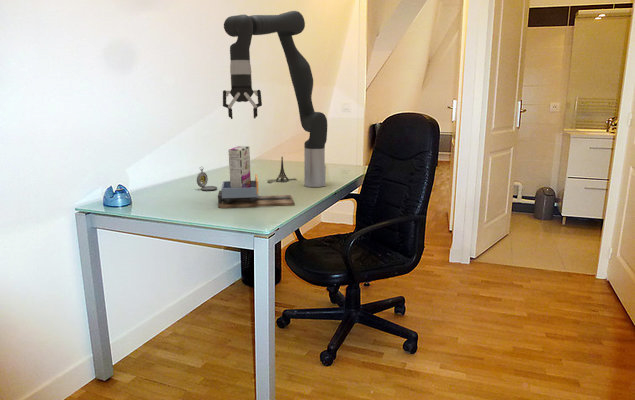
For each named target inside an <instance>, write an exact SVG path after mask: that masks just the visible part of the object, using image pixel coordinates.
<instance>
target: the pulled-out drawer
mask: <svg viewBox="0 0 635 400" xmlns="http://www.w3.org/2000/svg"><path fill="white" fill-rule="evenodd" d="M254 176H255V180H251V188H231V186H230V180H225V181H224V180H223V181H222V183H221V184H222V185H221V190H220V191H221V193H222V198H225V202H226V203H230V202H231V198H247V197H250V198H249V200H250V201H251V202H255V201H256V197H259V196H260V195H259V180H258V178H259V177H258V174H254Z"/></svg>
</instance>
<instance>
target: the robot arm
mask: <svg viewBox="0 0 635 400" xmlns="http://www.w3.org/2000/svg"><path fill="white" fill-rule="evenodd" d="M305 27H306V21H305V18H304V15H303V14H302V13H301V12H300V11H298V10H289V11H287V12H283V13H280V14H253V15H247V14H238V15H230V16H228V17H227V18H225V20H224V22H223V28H224V29H223V30H224V31H225V33H226V34H227V35H228V36H230V37H233V38H235V37H236V38H237V39H236V41H235V42H234V43H232V44H230V45H229V55H230V57H229V59H230V61H229V62H230V64H229V65H230V66H229V68H230V69H229V70H230V71H229V73H230V88H231V89H230V90H222V107H224V108H227V112H228V117H229V118H230V120H233V119H234V118H233V108H232V107H233V106H234V105H235V103H236V102H237V103H242V102H244V103H246V102H249V103H250V104H251V105H252V107H253V109H252V110H253V111H252V112H253V119H256V118H258V108H259V107H261V106H262V105H263V103H262V93H261V92H262V91H261V90H260V89H255V90H254V89H253V85H252V84H253V83H252V80H253V79H252V65H251V58H250V57H251V56H250V55H251V53H250V51H251V50H250V47H251V43H252V39H253V36H263V35H270V34H274V33H277V36H278V39H279V42H280V45H281V47H282V50H283V53H284V57H285V60H286V63H287V67H288V70H289V76H290V79H291V83H292V87H293V90H294V95H295V98H296V102H297V107H298V114H299V120H300V121H299V122H300V125H301V127H302V129H303V130H304V131H305V132H308V133H309V136H308V137H309V138H308V139H307V140H306V141H304V142H303V143H304V145H303V147H304V152H303V153H304V154H303V156H304V159H303V160H304V162H303V164H304V182H303V183H304V186H305V187H308V188H321V187H326V178H327V176H326V168H327V167H326V165H325V163H326V157H325V155H326V152H325V151H326V147H325V146H326V143H327V140H328V139H327V138H328V119H327V116H326V114H324V113H323V112H321V111H315V108H314V106H313V105H314V104H313V99H312V96H313V95H312V94H313V90H314V89H313V87H314V77H313V72H312V69H311V66H310V63H309V62H308V61H307V59H306V58H305V57H304V56H303V54H302V53H301V52H300V51H299V50H298V48H297V47H296V43H295V42H294V38H293V36H296V35H299V34H301V33H302V32H303V31H304V30H305ZM229 95H231V97H232V98H233V99H232V100H231V101H230V103H229V104H228V103H227V97H229ZM253 95H255V96H256V97H257V103H256V102H255V101H254V100H253V99H252V96H253Z"/></svg>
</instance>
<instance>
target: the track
mask: <svg viewBox="0 0 635 400" xmlns="http://www.w3.org/2000/svg"><path fill="white" fill-rule="evenodd" d="M249 198H250V197H247V198H231V202H230V203H226V202H225V198H222V193H221V190H218V195H217V208H218V209H224V208H226V209H227V208H228V209H229V208H230V209H231V208H251V207H252V208H254V207H255V208H257V207H260V208H261V207H282V206H283V207H284V206H286V207H288V206H291V207H292V206H295V205H296V203H295V201H294V199H293V196H292V195H290V194H284V195H277V194H276V195H259V197H256V201H255V202H251V201H250V200H249Z"/></svg>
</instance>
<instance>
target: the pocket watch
mask: <svg viewBox="0 0 635 400" xmlns="http://www.w3.org/2000/svg"><path fill="white" fill-rule="evenodd" d="M199 170H200V172H199V173H198V174H197V176H196V184H197V186H198V187H200V188H201V190H202V191H205V190H206V191H207V192H210V191H215V190H217V189H218V186H214V185H208V186H207V184H208V181H209V178H208V175H207V173H206V172H205V171H204V167H202V168H199Z"/></svg>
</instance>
